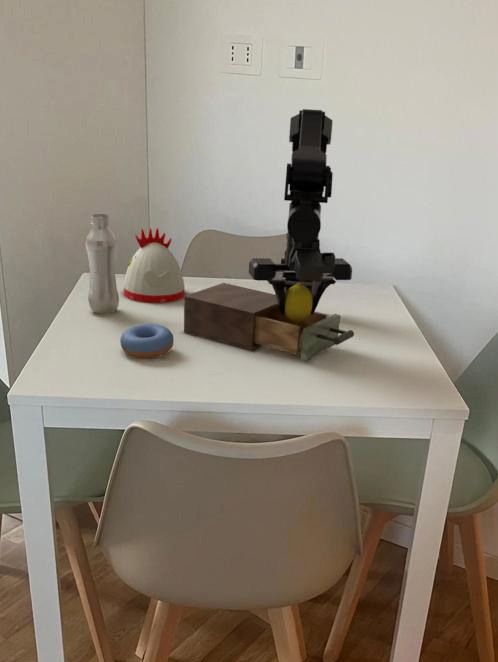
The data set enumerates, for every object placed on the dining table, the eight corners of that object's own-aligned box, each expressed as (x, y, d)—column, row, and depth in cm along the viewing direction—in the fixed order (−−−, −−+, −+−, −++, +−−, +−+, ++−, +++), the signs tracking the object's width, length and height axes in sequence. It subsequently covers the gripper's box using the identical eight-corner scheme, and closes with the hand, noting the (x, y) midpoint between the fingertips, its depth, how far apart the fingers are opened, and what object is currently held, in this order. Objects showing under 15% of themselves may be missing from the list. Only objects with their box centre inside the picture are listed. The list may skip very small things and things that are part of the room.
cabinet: (288, 334, 165) (290, 298, 162) (251, 351, 155) (253, 312, 152) (222, 317, 173) (223, 282, 170) (183, 332, 163) (184, 295, 159)
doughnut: (130, 364, 146) (129, 340, 144) (113, 346, 154) (113, 323, 152) (181, 358, 150) (181, 334, 148) (163, 341, 158) (163, 318, 156)
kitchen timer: (121, 286, 191) (119, 221, 183) (178, 285, 194) (179, 221, 187) (127, 303, 179) (126, 234, 172) (188, 302, 182) (189, 234, 175)
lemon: (316, 325, 155) (320, 284, 152) (296, 330, 152) (300, 288, 148) (295, 317, 159) (298, 277, 155) (276, 323, 155) (278, 282, 152)
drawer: (359, 349, 157) (363, 320, 154) (329, 366, 147) (332, 335, 145) (271, 326, 166) (273, 299, 163) (237, 341, 157) (238, 312, 154)
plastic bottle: (124, 309, 175) (122, 214, 165) (110, 318, 169) (106, 220, 160) (98, 305, 177) (94, 211, 167) (82, 313, 171) (77, 216, 161)
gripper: (262, 240, 138) (258, 328, 146) (365, 241, 142) (356, 326, 149) (250, 226, 148) (246, 309, 155) (347, 227, 151) (338, 308, 159)
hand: (296, 313), depth 154 cm, fingers closed on lemon, 5 cm apart
